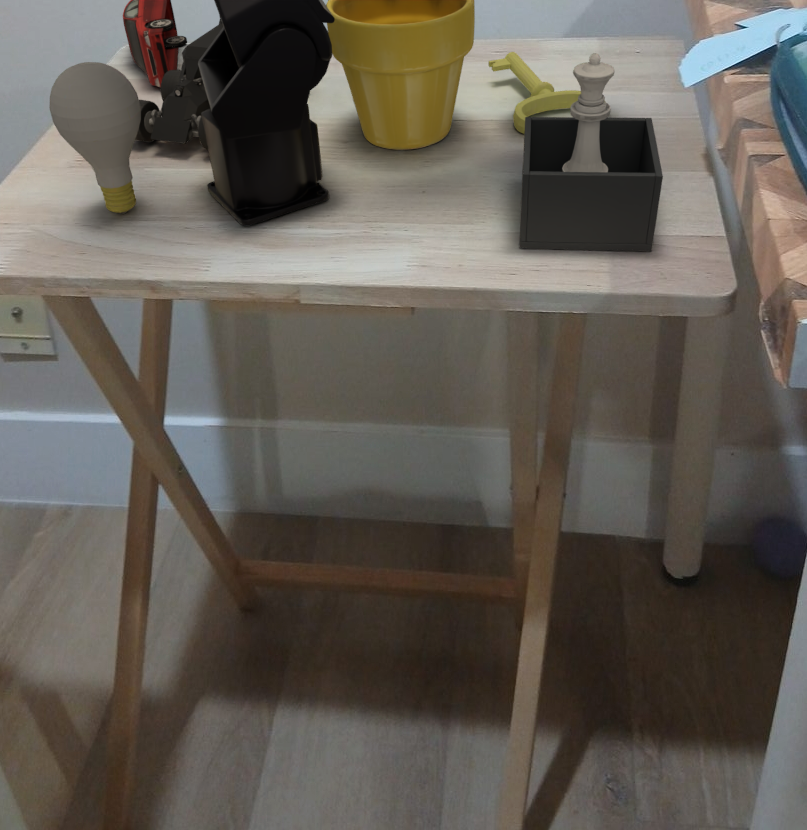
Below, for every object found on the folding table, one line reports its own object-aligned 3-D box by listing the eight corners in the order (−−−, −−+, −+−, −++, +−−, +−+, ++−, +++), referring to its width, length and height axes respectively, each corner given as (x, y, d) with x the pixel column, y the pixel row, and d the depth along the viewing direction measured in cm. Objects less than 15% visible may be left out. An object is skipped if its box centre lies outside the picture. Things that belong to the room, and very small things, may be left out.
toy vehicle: (307, 84, 78) (295, -27, 73) (218, 161, 68) (195, 39, 62) (222, 74, 81) (204, -34, 75) (124, 148, 70) (94, 29, 65)
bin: (519, 248, 57) (522, 174, 54) (522, 187, 63) (525, 116, 60) (651, 251, 57) (663, 175, 53) (642, 189, 62) (651, 117, 59)
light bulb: (173, 192, 65) (140, 48, 59) (150, 232, 61) (111, 81, 54) (99, 192, 66) (58, 48, 59) (70, 231, 62) (23, 82, 55)
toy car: (178, -31, 87) (124, -26, 86) (171, 34, 76) (109, 40, 76) (191, 28, 91) (139, 34, 90) (186, 98, 80) (127, 104, 80)
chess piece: (617, 229, 58) (636, 68, 51) (545, 226, 58) (555, 67, 52) (615, 195, 61) (633, 40, 54) (547, 193, 62) (557, 39, 55)
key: (511, 73, 78) (512, 48, 77) (618, 120, 71) (621, 92, 69) (444, 97, 75) (443, 71, 74) (548, 148, 68) (550, 120, 66)
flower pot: (355, 172, 66) (343, 32, 60) (325, 116, 74) (311, -14, 67) (492, 149, 68) (495, 10, 62) (450, 96, 76) (448, -32, 69)
